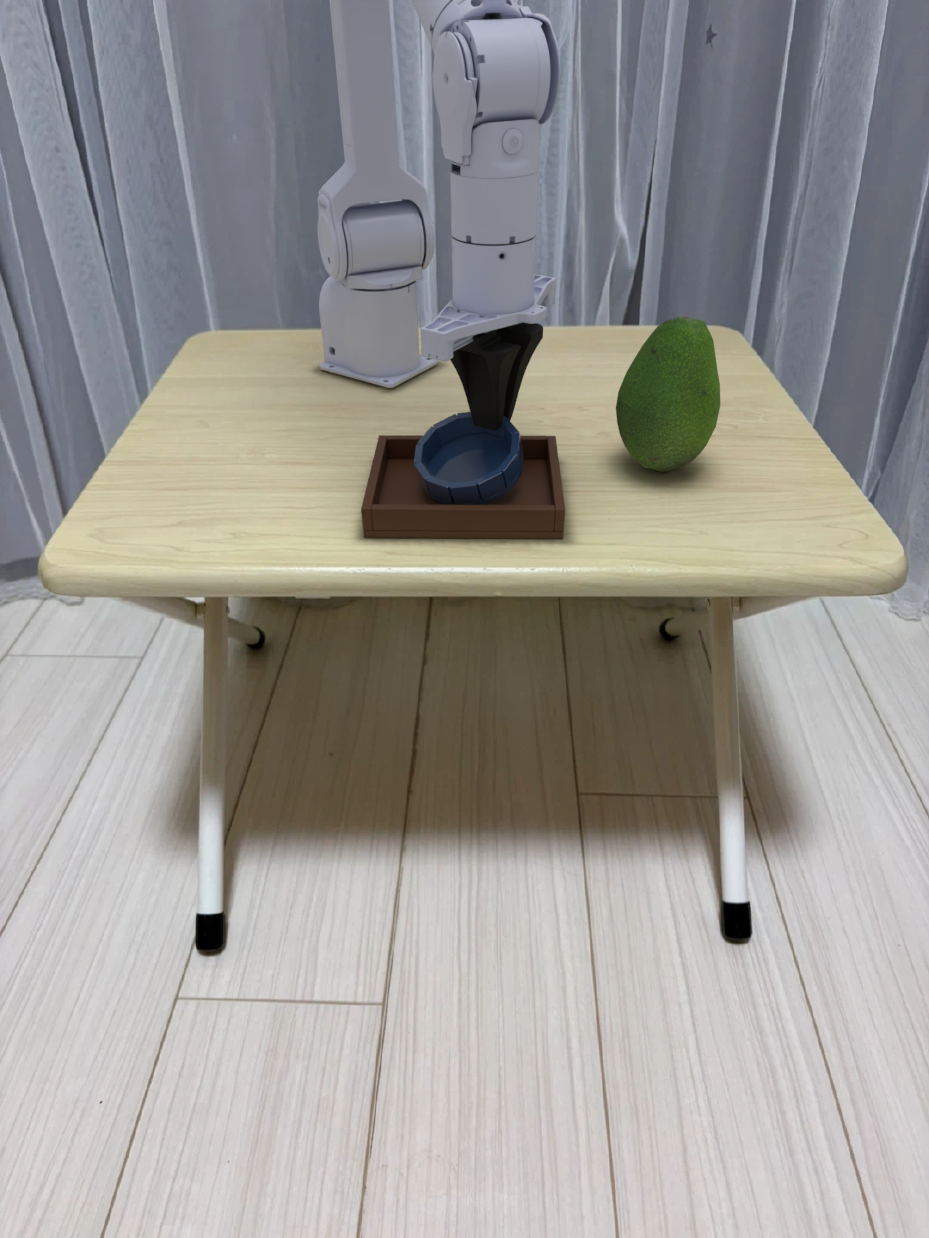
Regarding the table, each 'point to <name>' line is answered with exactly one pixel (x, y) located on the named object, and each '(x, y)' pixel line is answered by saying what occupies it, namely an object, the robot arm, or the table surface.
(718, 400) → the fruit
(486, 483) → the blue faceted bowl
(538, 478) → the tray
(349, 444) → the table surface
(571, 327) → the table surface
